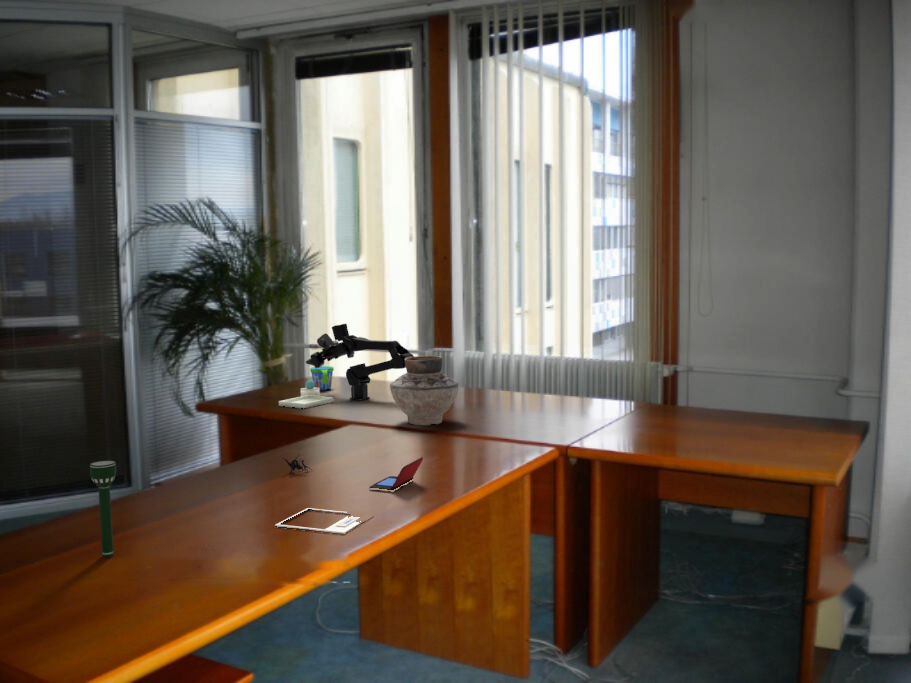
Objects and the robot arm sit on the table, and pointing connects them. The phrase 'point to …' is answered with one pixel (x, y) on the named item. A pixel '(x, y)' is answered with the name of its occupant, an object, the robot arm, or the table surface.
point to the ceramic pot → (424, 390)
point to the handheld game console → (399, 477)
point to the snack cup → (322, 377)
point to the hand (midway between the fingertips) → (311, 358)
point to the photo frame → (338, 527)
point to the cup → (310, 391)
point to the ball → (309, 384)
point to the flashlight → (104, 500)
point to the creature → (296, 465)
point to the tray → (306, 401)
